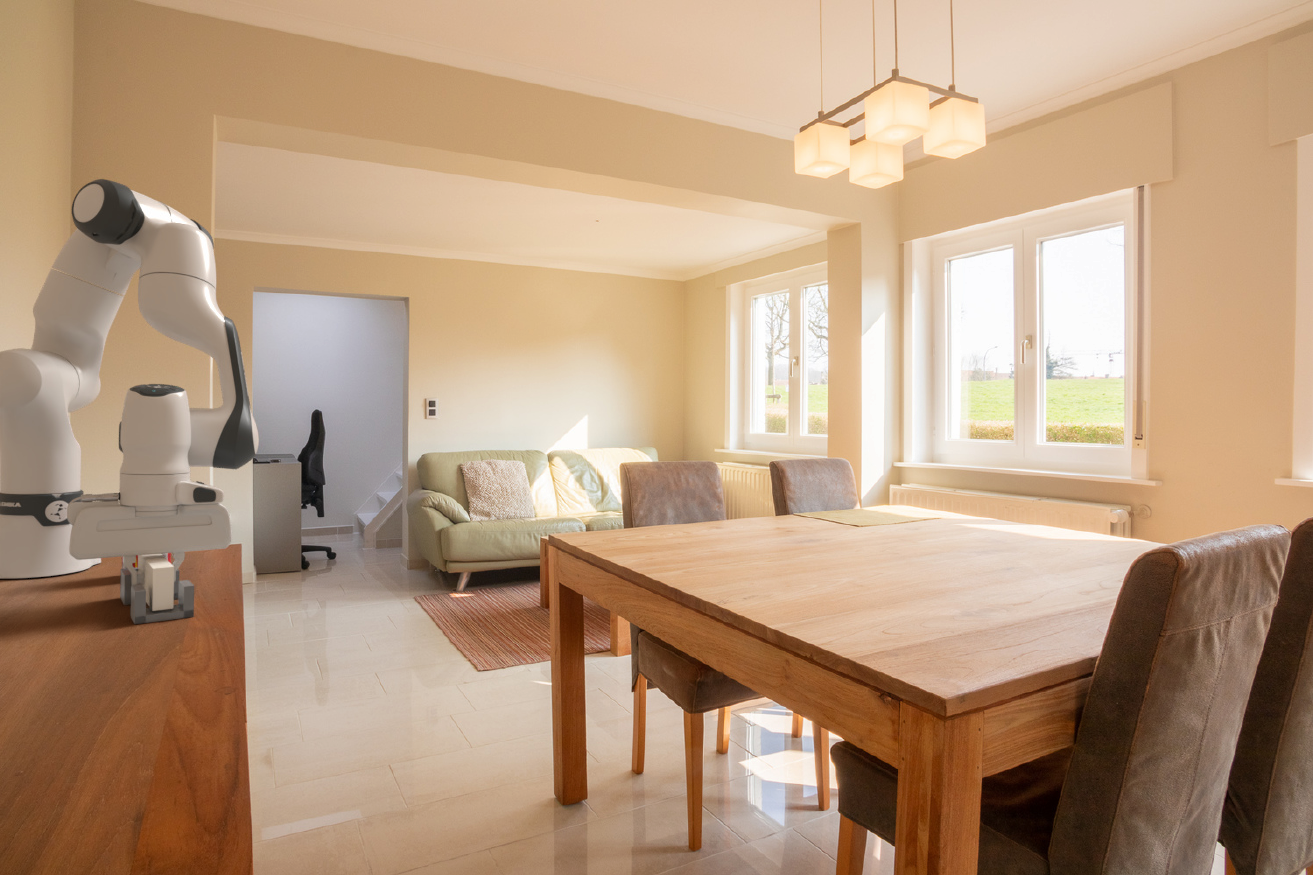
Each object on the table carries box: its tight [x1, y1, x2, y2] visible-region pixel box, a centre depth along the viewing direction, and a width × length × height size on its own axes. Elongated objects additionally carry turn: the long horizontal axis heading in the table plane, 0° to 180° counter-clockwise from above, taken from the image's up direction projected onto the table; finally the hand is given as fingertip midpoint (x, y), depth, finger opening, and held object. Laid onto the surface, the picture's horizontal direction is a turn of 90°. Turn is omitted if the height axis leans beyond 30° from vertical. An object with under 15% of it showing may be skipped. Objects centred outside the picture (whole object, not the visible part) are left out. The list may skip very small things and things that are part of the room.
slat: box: [138, 554, 175, 611], centre depth 111 cm, size 16×2×6 cm, turn 41°
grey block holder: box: [119, 568, 195, 625], centre depth 111 cm, size 18×7×4 cm, turn 41°
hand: (153, 583), depth 112 cm, fingers closed on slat, 2 cm apart
